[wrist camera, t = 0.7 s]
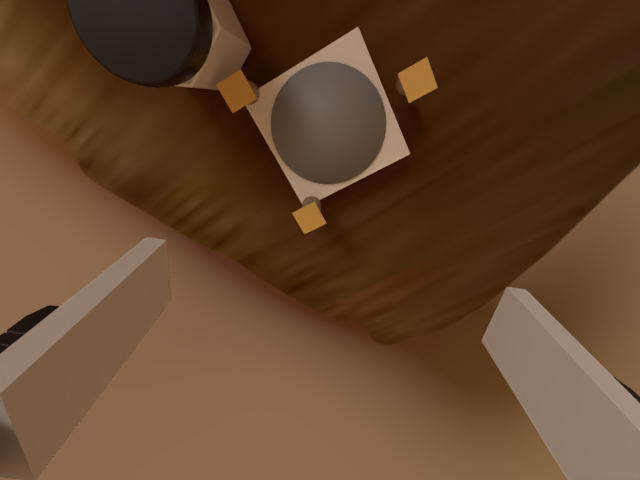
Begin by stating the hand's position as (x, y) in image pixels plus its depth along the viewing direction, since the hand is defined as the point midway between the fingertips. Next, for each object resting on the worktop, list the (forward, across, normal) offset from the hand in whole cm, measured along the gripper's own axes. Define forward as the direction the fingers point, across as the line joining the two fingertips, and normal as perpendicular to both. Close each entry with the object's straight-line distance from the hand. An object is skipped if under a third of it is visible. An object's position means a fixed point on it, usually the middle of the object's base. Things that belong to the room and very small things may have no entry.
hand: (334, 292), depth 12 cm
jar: (+25, -14, +9) cm, 30 cm away
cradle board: (+24, 0, +5) cm, 25 cm away
